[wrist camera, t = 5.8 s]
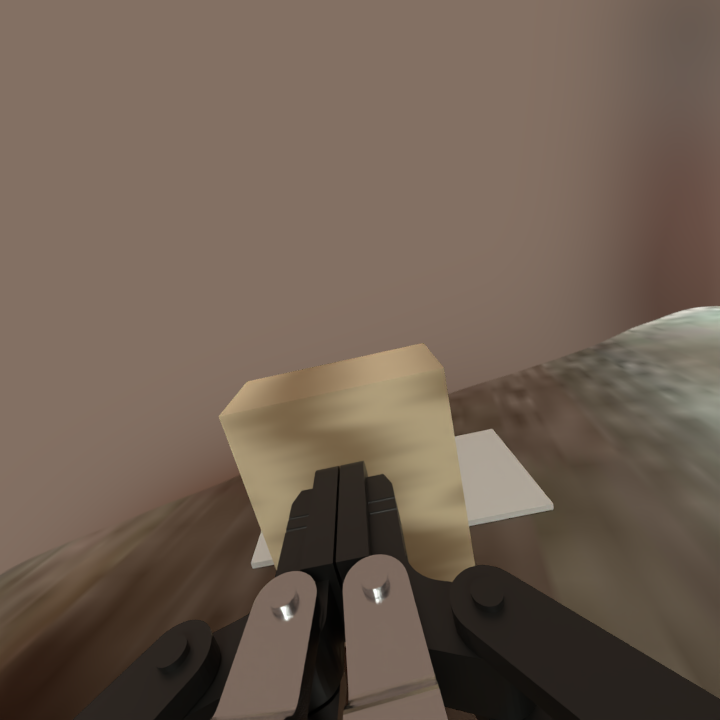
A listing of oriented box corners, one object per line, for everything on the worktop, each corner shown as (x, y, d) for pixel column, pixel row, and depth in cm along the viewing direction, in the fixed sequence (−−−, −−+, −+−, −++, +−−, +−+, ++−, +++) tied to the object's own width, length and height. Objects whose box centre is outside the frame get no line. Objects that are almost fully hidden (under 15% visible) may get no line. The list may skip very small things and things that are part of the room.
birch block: (459, 554, 19) (423, 343, 15) (483, 620, 15) (443, 367, 12) (315, 582, 19) (247, 381, 16) (307, 653, 16) (218, 416, 12)
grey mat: (492, 433, 29) (492, 428, 29) (553, 509, 20) (553, 503, 20) (281, 476, 29) (280, 472, 29) (252, 568, 21) (250, 563, 21)
